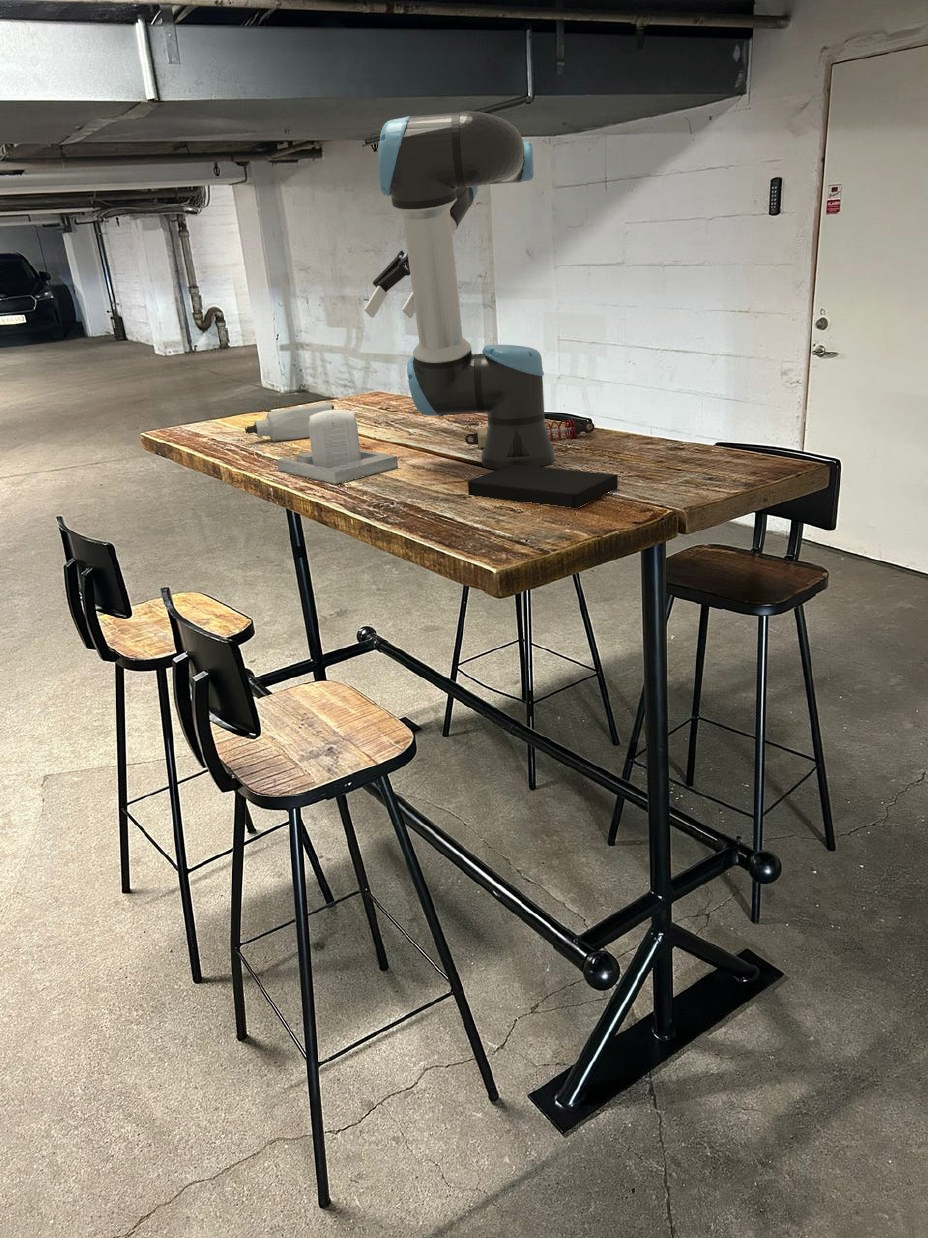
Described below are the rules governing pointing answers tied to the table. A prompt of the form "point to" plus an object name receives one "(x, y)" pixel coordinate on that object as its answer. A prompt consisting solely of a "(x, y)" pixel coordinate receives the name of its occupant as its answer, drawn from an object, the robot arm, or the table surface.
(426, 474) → the table surface
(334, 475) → the plate
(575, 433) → the shock absorber
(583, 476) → the external hard drive
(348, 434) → the photo printer
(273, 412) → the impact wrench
